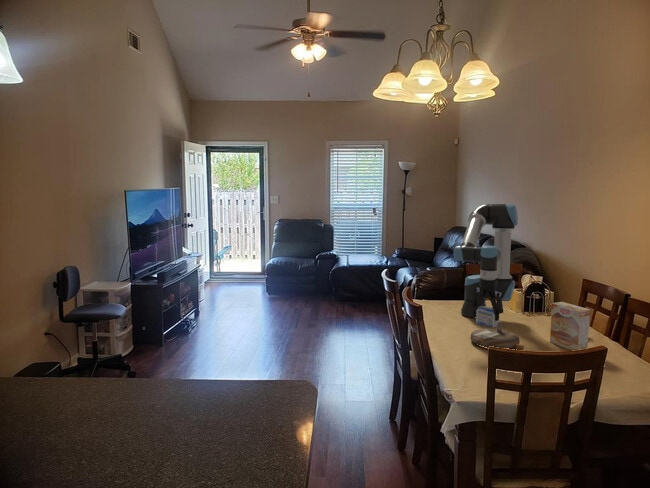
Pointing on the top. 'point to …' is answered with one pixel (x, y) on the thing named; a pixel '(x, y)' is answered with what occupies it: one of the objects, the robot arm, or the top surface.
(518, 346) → the dial base
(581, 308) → the coffeecake box
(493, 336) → the index dial
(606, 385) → the top surface
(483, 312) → the medicine box
